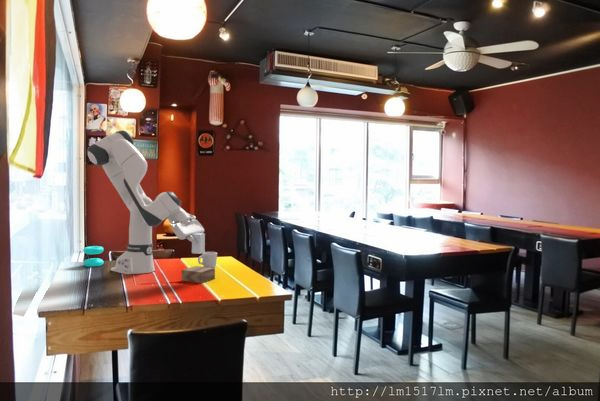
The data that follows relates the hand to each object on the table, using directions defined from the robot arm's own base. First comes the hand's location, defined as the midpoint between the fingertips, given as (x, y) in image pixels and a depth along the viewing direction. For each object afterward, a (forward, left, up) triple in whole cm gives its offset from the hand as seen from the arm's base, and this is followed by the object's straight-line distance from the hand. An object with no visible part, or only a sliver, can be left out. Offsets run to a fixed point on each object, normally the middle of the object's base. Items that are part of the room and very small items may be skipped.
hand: (199, 242), depth 216 cm
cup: (-14, +25, -18) cm, 34 cm away
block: (-1, 0, -5) cm, 5 cm away
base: (-1, 0, -18) cm, 18 cm away
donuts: (-70, 0, -18) cm, 72 cm away
